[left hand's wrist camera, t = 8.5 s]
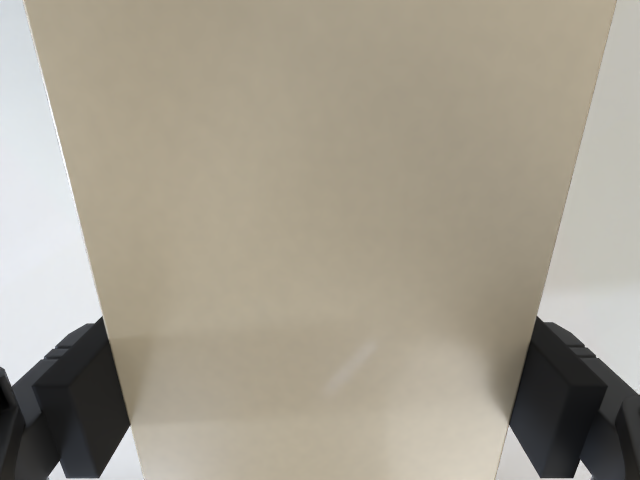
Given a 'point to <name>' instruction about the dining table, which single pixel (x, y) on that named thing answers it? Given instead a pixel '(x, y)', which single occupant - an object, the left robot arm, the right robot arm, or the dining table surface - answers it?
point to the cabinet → (319, 219)
